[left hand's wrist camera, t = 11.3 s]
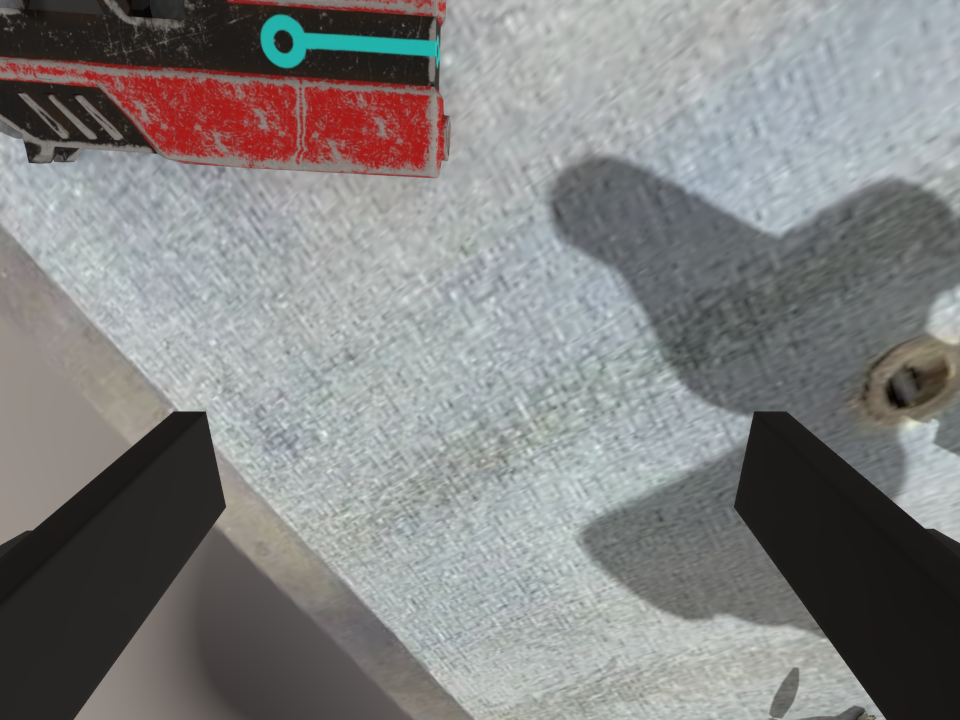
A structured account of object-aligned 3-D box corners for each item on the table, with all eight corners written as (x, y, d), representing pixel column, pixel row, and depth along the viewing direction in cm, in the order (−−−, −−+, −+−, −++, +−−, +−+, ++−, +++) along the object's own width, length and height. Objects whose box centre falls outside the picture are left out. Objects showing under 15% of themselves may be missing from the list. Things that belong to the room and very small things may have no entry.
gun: (-126, -229, 28) (-16, 160, 35) (458, -189, 28) (445, 191, 36) (-46, -181, 32) (37, 158, 40) (462, -146, 32) (449, 185, 40)
